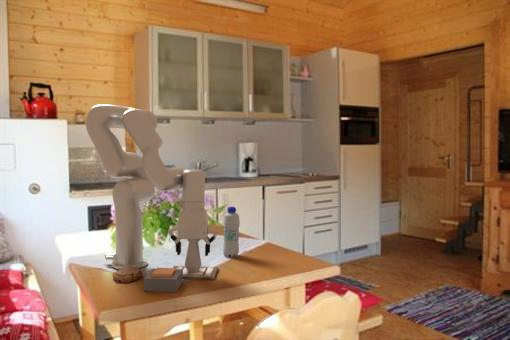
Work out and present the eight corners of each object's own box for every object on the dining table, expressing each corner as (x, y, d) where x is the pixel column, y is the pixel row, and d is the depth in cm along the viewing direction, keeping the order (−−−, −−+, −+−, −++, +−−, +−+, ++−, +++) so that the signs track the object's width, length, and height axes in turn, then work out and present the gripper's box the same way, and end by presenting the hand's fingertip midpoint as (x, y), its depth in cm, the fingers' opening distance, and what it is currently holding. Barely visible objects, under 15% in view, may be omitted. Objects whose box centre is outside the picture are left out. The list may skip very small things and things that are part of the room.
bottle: (242, 255, 176) (243, 206, 174) (232, 259, 170) (233, 208, 168) (229, 252, 179) (229, 204, 178) (219, 256, 174) (219, 206, 172)
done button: (152, 282, 135) (152, 273, 135) (157, 276, 141) (157, 267, 141) (171, 283, 135) (171, 273, 135) (175, 277, 141) (175, 268, 141)
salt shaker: (197, 274, 148) (198, 237, 146) (182, 272, 149) (182, 235, 147) (203, 269, 153) (204, 233, 152) (188, 267, 154) (188, 231, 153)
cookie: (110, 284, 140) (110, 275, 139) (113, 274, 150) (113, 266, 150) (142, 283, 142) (142, 274, 142) (143, 272, 152) (143, 264, 152)
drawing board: (166, 278, 145) (166, 275, 145) (174, 267, 157) (174, 265, 157) (213, 280, 145) (213, 277, 145) (218, 269, 157) (218, 266, 157)
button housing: (143, 291, 134) (143, 278, 133) (152, 280, 144) (152, 268, 143) (176, 292, 133) (176, 279, 133) (182, 281, 143) (182, 269, 143)
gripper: (165, 206, 146) (165, 256, 147) (217, 208, 145) (216, 258, 147) (170, 203, 153) (170, 250, 155) (219, 204, 153) (219, 252, 154)
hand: (192, 254), depth 151 cm, fingers open, 9 cm apart
